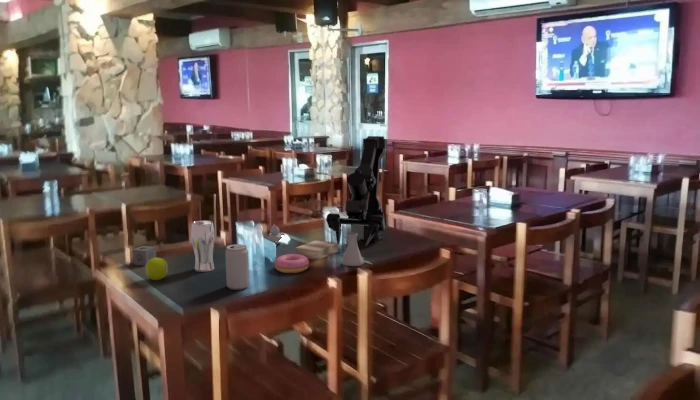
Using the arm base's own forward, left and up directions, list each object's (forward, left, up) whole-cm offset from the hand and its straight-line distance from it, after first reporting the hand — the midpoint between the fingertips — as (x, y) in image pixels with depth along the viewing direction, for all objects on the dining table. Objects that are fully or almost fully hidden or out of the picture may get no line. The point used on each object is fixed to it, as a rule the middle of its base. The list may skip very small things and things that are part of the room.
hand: (351, 244), depth 189 cm
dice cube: (+34, -58, -7) cm, 68 cm away
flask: (-1, 0, -7) cm, 7 cm away
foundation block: (-4, -17, -7) cm, 19 cm away
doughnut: (+14, -13, -7) cm, 20 cm away
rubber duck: (-7, -37, -7) cm, 39 cm away
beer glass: (+29, -36, -7) cm, 47 cm away
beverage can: (+36, -15, -7) cm, 40 cm away
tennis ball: (+44, -40, -7) cm, 60 cm away
